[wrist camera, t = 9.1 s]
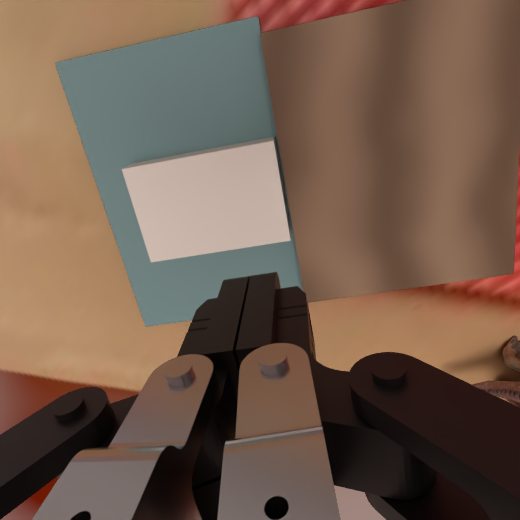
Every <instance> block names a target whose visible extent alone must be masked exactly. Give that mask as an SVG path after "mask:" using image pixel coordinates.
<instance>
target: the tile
mask: <svg viewBox="0 0 520 520" xmlns="http://www.w3.org/2000/svg"><path fill="white" fill-rule="evenodd" d="M122 172H123V175H124V178H125V182H126V185H127V188H128V191H129V194H130V197H131V201H132V204H133V207H134V210H135V213H136V217H137V220H138V223H139V226H140V229H141V233H142V236H143V239H144V242H145V245H146V249H147V252H148V255H149V258H150V261H151V262H157V261H164V260H170V259H176V258H183V257H189V256H196V255H202V254H208V253H215V252H221V251H228V250H234V249H240V248H247V247H253V246H260V245H266V244H272V243H279V242H285V241H291V234H290V225H289V219H288V213H287V207H286V201H285V195H284V189H283V183H282V177H281V172H280V166H279V160H278V154H277V148H276V142H275V137H269V138H264V139H259V140H254V141H248V142H243V143H238V144H232V145H227V146H222V147H217V148H211V149H206V150H201V151H195V152H190V153H185V154H179V155H174V156H169V157H164V158H158V159H153V160H148V161H142V162H137V163H133V164H131V165H129V166H127V167H125V168H123V169H122Z"/></svg>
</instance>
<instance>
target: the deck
mask: <svg viewBox="0 0 520 520" xmlns="http://www.w3.org/2000/svg"><path fill="white" fill-rule="evenodd" d="M260 38H261V44H262V50H263V56H264V61H265V67H266V73H267V79H268V85H269V91H270V97H271V103H272V109H273V115H274V120H275V126H276V132H277V138H278V144H279V150H280V156H281V162H282V168H283V174H284V179H285V185H286V191H287V197H288V203H289V209H290V215H291V221H292V227H293V232H294V238H295V244H296V250H297V256H298V262H299V268H300V274H301V280H302V286H303V291H304V293H306V297H307V303H309V302H316V301H323V300H330V299H338V298H345V297H352V296H359V295H366V294H373V293H381V292H388V291H395V290H402V289H409V288H416V287H424V286H431V285H438V284H445V283H452V282H459V281H467V280H474V279H481V278H488V277H495V276H503V275H510V274H514V256H515V234H516V212H517V190H518V168H519V146H520V0H405V1H400V2H396V3H392V4H387V5H383V6H378V7H374V8H369V9H365V10H361V11H356V12H352V13H347V14H343V15H338V16H334V17H329V18H325V19H321V20H316V21H312V22H307V23H303V24H298V25H294V26H289V27H285V28H281V29H276V30H272V31H267V32H263V33H260Z"/></svg>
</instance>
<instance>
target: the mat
mask: <svg viewBox="0 0 520 520" xmlns="http://www.w3.org/2000/svg"><path fill="white" fill-rule="evenodd" d="M260 33H261V30H260V24H259V18H258V16H256V17H252V18H247V19H243V20H239V21H234V22H230V23H226V24H221V25H217V26H213V27H208V28H204V29H200V30H195V31H191V32H187V33H182V34H178V35H174V36H169V37H165V38H161V39H156V40H152V41H148V42H143V43H139V44H135V45H130V46H126V47H122V48H117V49H113V50H109V51H104V52H100V53H96V54H91V55H87V56H83V57H78V58H74V59H70V60H65V61H61V62H57V63H55V65H56V68H57V71H58V74H59V77H60V79H61V82H62V85H63V88H64V91H65V94H66V97H67V100H68V103H69V106H70V109H71V111H72V114H73V117H74V120H75V123H76V126H77V129H78V132H79V135H80V138H81V140H82V143H83V146H84V149H85V152H86V155H87V158H88V161H89V164H90V167H91V170H92V172H93V175H94V178H95V181H96V184H97V187H98V190H99V193H100V196H101V199H102V201H103V204H104V207H105V210H106V213H107V216H108V219H109V222H110V225H111V228H112V230H113V233H114V236H115V239H116V242H117V245H118V248H119V251H120V254H121V257H122V260H123V262H124V265H125V268H126V271H127V274H128V277H129V280H130V283H131V286H132V289H133V291H134V294H135V297H136V300H137V303H138V306H139V309H140V312H141V315H142V318H143V321H144V323H145V326H146V327H147V326H154V325H161V324H168V323H176V322H183V321H190V320H192V319H193V317H194V314H195V312H196V310H197V309H198V308H199V307H200V306H201V305H202V304H203V303H204V302H205V301H206V300H207V299H213V298H217V297H218V294H219V291H220V288H221V285H222V282H223V280H225V279H232V278H239V277H245V276H250V277H251V275H258V274H264V273H271V272H277V273H278V276H279V281H280V286H281V288H287V287H294V286H298V287H299V288H300V289H301V290H302V291H303V286H302V280H301V274H300V268H299V262H298V256H297V250H296V244H295V238H294V232H293V227H292V221H291V215H290V209H289V203H288V197H287V191H286V185H285V179H284V174H283V168H282V162H281V156H280V150H279V144H278V138H277V132H276V126H275V120H274V115H273V109H272V103H271V97H270V91H269V85H268V79H267V73H266V67H265V61H264V56H263V50H262V44H261V38H260ZM269 137H275V142H276V148H277V154H278V160H279V166H280V172H281V177H282V183H283V189H284V195H285V201H286V207H287V213H288V219H289V225H290V234H291V241H285V242H279V243H272V244H266V245H260V246H253V247H247V248H240V249H234V250H228V251H221V252H215V253H208V254H202V255H196V256H189V257H183V258H176V259H170V260H164V261H157V262H151V261H150V258H149V255H148V252H147V249H146V245H145V242H144V239H143V236H142V233H141V229H140V226H139V223H138V220H137V217H136V213H135V210H134V207H133V204H132V201H131V197H130V194H129V191H128V188H127V185H126V182H125V178H124V175H123V172H122V169H123V168H125V167H127V166H129V165H131V164H133V163H137V162H142V161H148V160H153V159H158V158H164V157H169V156H174V155H179V154H185V153H190V152H195V151H201V150H206V149H211V148H217V147H222V146H227V145H232V144H238V143H243V142H248V141H254V140H259V139H264V138H269ZM303 292H304V291H303Z"/></svg>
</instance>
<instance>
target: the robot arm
mask: <svg viewBox="0 0 520 520" xmlns="http://www.w3.org/2000/svg"><path fill="white" fill-rule="evenodd" d="M57 476H58V478H59V479H58V481H57V482H56V484H55V485H54V487H53V489H52V490H51V492H50V493H49V495H48V496H47V498H46V499H45V501H44V502H43V504H42V505H41V507H40V509H39V510H38V511H37V513H36V515H35V516H34V517H33V519H32V520H340V515H339V510H338V504H337V499H336V494H335V489H334V485H336V486H340V487H345V488H349V489H354V490H357V491H362V492H365V494H366V497H367V499H368V501H369V502H370V504H371V505H372V506H373V507H374V508H375V510H377V511H378V512H379V513H380V514H381V515H382V516H383V517H384V518H385V519H386V520H520V408H519V407H517V406H515V405H513V404H511V403H509V402H507V401H505V400H503V399H500V398H498V397H496V396H494V395H492V394H490V393H488V392H486V391H484V390H482V389H479V388H477V387H475V386H473V385H471V384H469V383H467V382H465V381H463V380H461V379H458V378H456V377H454V376H452V375H450V374H448V373H446V372H444V371H442V370H439V369H437V368H435V367H433V366H431V365H429V364H427V363H425V362H423V361H421V360H418V359H416V358H414V357H412V356H409V355H406V354H402V353H396V352H382V353H376V354H372V355H369V356H366V357H364V358H362V359H360V360H359V361H358V362H356V363H355V364H354V365H353V367H352V368H351V370H350V372H347V371H339V370H334V369H330V368H328V367H325V366H323V365H321V364H320V363H318V362H317V361H316V355H315V344H314V337H313V331H312V326H311V320H310V314H309V308H308V303H307V297H306V293H304V292H303V291H302V290H301V289H300V288H299V287H298V286H294V287H287V288H281V286H280V281H279V276H278V273H277V272H271V273H264V274H258V275H251V277H250V276H245V277H239V278H232V279H225V280H223V282H222V285H221V288H220V291H219V294H218V297H217V298H213V299H207V300H206V301H205V302H204V303H203V304H202V305H201V306H200V307H199V308H198V309H197V310H196V312H195V314H194V317H193V319H192V323H191V324H190V327H189V329H188V332H187V334H186V336H185V339H184V341H183V344H182V346H181V349H180V351H179V353H178V356H177V357H176V358H173V359H171V360H169V361H167V362H165V363H163V364H162V365H160V366H159V367H158V368H156V369H155V370H154V371H153V372H152V374H151V375H150V376H149V378H148V380H147V381H146V383H145V385H144V387H143V388H142V390H141V392H140V394H138V395H135V396H132V397H129V398H127V399H123V400H120V401H117V402H114V403H112V404H110V402H109V399H108V397H107V395H106V392H105V391H104V390H102V389H101V388H97V387H85V388H80V389H77V390H74V391H72V392H69V393H67V394H65V395H63V396H61V397H59V398H57V399H56V400H54V401H53V402H51V403H50V404H48V405H46V406H45V407H43V408H42V409H40V410H39V411H37V412H35V413H34V414H32V415H31V416H29V417H28V418H26V419H24V420H23V421H21V422H20V423H18V424H17V425H15V426H13V427H12V428H10V429H9V430H7V431H6V432H4V433H3V434H1V435H0V519H2V518H3V517H4V516H5V515H7V514H8V513H10V512H11V511H12V510H13V509H15V508H16V507H17V506H19V505H20V504H21V503H23V502H24V501H25V500H27V499H28V498H29V497H30V496H32V495H33V494H34V493H36V492H37V491H38V490H39V489H41V488H42V487H44V486H45V485H46V484H48V483H49V482H50V481H51V480H53V479H54V478H55V477H57Z"/></svg>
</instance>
